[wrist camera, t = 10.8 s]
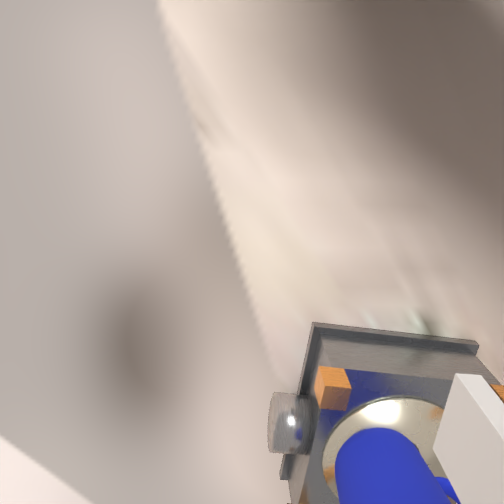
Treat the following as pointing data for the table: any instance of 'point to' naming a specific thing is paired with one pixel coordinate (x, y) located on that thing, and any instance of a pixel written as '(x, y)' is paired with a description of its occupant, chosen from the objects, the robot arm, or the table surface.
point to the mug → (387, 471)
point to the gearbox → (364, 399)
